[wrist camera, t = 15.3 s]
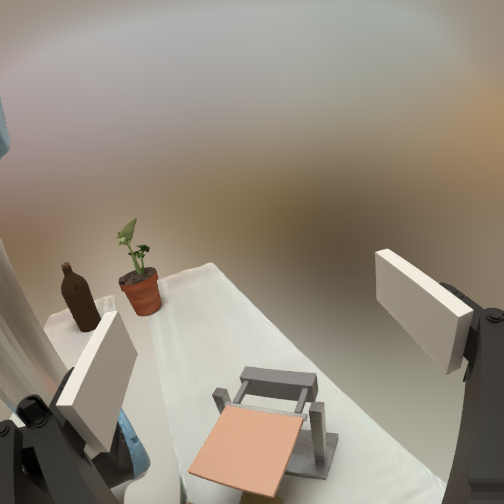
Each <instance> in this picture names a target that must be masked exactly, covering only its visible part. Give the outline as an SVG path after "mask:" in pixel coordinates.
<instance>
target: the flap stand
mask: <svg viewBox="0 0 504 504" xmlns="http://www.w3.org/2000/svg"><path fill="white" fill-rule="evenodd" d="M212 396H213V398H214V401H215V403H216V405H217V408H218V410H219V412H220V414H222V412H223V410H224V408H225V406H224V405H225V402H231V399H230V397H229V394H228V391H227V389H222V388H216V390H215V391H214V393H213V394H212ZM309 416H310V424H311V431H307V430H300V433H299V436H298V438H297V441H296V444H295V447H294V449H293V452H292V455H291V457H290V460H289V463H288V465H287V468H286V470H285V473H286V474H291V475H297V476H304V477H311V478H318V479H326V477H327V474H328V470H329V467H330V464H331V460H332V457H333V453H334V450H335V446H336V443H337V439H338V434H336V433H326V425H325V409H324V402H312V403H311V406H310V409H309Z"/></svg>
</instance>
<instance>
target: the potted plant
mask: <svg viewBox="0 0 504 504" xmlns="http://www.w3.org/2000/svg"><path fill="white" fill-rule="evenodd" d="M135 224H136V219H134V220H133V221H131V222H130V223H129V224H127V225H126V226H125V227H124V228H123V230H122V231H121V232H119V236H118V237H117V238H120V241H119V243H118V246H119V245H121V244H123V245H127V246H128V247H129V245H128V244H129V243H130V242H131V239H132V237H133V232H134V227H135ZM137 247H140V248H141V249H140V250H139V251H142V253H140V252H139V251H136V252H132V250H131V247H129V249H130V251H131V253H128V254H129V255H131V256H132V258H133V262H134V265H135V268H136V270H134V271H132V272H130V273H128V274H126V275H124V276H123V277H120V279H119V285H120V287H121V290H122V291H124V292H125V294H126V296H127V298H128V299H129V301H130V303H131V305H132V307H133V309H134V310H135V312H136V314H137V315H138V316H148V315H151V314H152V313H154V312H155V311H157V310H158V309H159V308H160V306H161V299H160V294H159V289H158V285H157V280H158V275H157V271H156V269H155V268H152V267H148V268H144V265H143V257H144V256H145V255H144V254H143V252H144V251H146V252H148V251H149V247H148V246H146V245H140V246H137ZM136 254H137V257H138V258H140V256H141V257H142V258H141V261H142V268H141V269H140V266H139V264H138V262H137V260H136Z"/></svg>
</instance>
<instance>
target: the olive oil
mask: <svg viewBox="0 0 504 504" xmlns="http://www.w3.org/2000/svg"><path fill="white" fill-rule="evenodd" d="M61 266H62V270H63V273H64V275H65V276H64V279H63V282H62V286H61V291H62V295H63V297H64V299H65V301H66V303H67V305H68V307H69V309H70V311H71V313H72V315H73V318H74V319H75V321H76V323H77V325H78V327H79V329H80V330H81V331H82V332H88V331H92V330H94V329H95V328H97V326H98V324H99V323H100V321H101V318H100V316H99V313H98V311H97V308H96V306H95V303H94V300H93V298H92V295H91V292H90V289H89V286H88V284H87V282H86V280H85V279H84V278H83V277H81V276H80V275H77V274H76V273H74V272H73V271H72V269H71V266H70V265H69V262H66V263H64V264H63V265H61Z"/></svg>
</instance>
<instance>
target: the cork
mask: <svg viewBox="0 0 504 504" xmlns="http://www.w3.org/2000/svg"><path fill="white" fill-rule="evenodd" d="M240 504H282V499H280V498H279V497H278V496H276V495H275V497H274V498H270V497H266V496H261V495H257V494H253V493H249V492H246V491H243V494H242V497H241V501H240Z"/></svg>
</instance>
